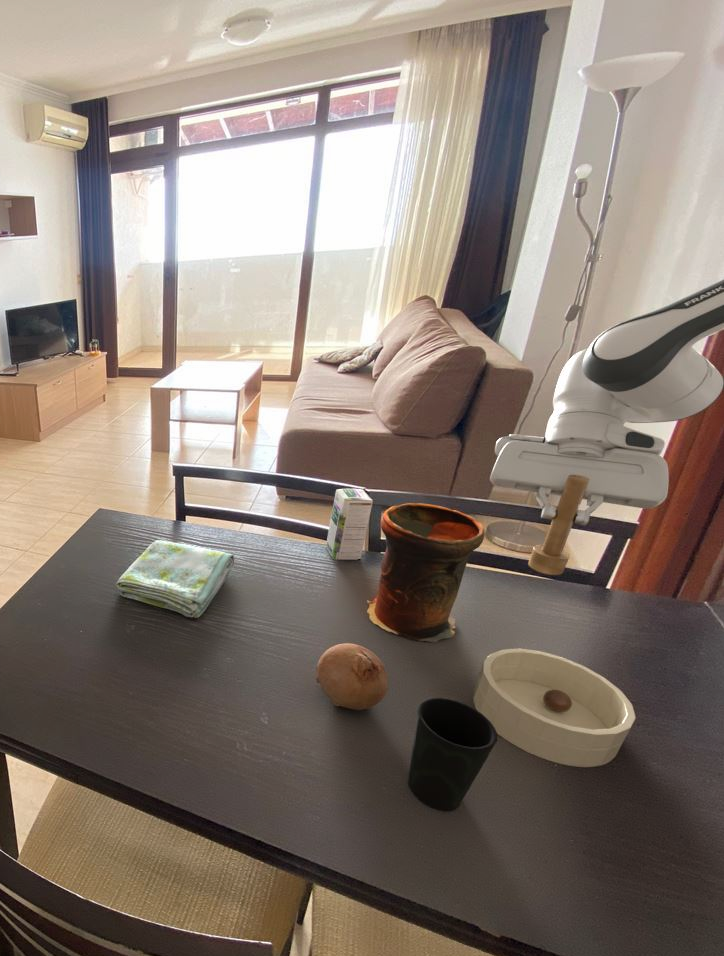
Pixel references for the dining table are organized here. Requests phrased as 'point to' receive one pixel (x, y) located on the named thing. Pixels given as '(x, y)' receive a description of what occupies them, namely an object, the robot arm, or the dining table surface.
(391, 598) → the vessel
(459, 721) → the cup
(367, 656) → the onion
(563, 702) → the bead
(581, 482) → the wooden tamper
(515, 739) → the bowl
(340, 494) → the syrup box
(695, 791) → the dining table surface
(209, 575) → the towel
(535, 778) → the dining table surface
